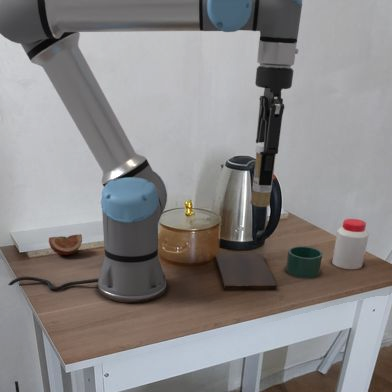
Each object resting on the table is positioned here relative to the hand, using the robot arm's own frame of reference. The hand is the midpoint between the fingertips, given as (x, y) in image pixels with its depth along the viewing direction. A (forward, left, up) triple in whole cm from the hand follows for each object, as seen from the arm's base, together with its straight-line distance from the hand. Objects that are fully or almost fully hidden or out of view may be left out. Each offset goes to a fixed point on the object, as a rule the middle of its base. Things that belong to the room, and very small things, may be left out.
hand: (262, 181), depth 125 cm
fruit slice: (-47, +12, -22) cm, 53 cm away
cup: (+12, +1, -22) cm, 25 cm away
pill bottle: (+25, +6, -22) cm, 34 cm away
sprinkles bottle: (0, 0, -6) cm, 6 cm away
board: (-3, 0, -22) cm, 22 cm away
